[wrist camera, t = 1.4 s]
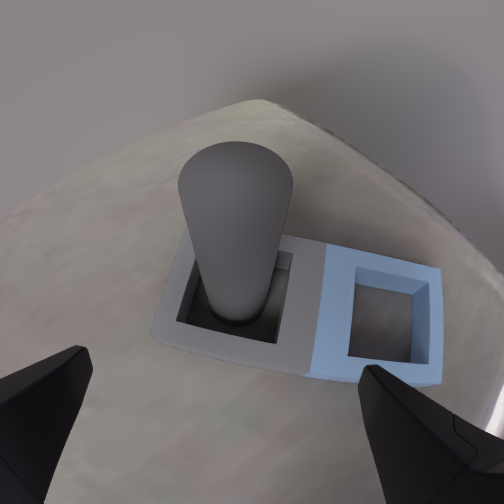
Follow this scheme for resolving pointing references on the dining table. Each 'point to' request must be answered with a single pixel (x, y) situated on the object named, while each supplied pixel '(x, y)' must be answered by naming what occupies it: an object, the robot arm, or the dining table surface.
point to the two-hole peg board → (313, 314)
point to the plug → (235, 223)
